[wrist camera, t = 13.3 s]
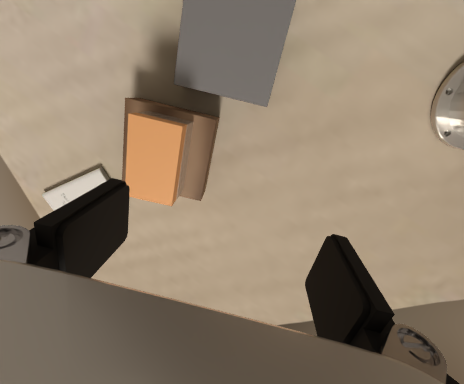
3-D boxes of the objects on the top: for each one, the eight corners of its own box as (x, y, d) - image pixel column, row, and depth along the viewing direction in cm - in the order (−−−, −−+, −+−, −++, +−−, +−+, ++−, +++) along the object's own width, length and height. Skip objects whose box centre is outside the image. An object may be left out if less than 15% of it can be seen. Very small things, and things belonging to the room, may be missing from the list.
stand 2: (292, 3, 28) (299, -11, 24) (264, 106, 32) (267, 107, 29) (195, -22, 27) (188, -41, 24) (182, 85, 32) (173, 84, 28)
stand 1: (219, 117, 33) (216, 120, 30) (205, 190, 38) (200, 200, 34) (138, 97, 33) (125, 97, 29) (134, 174, 38) (122, 182, 34)
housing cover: (176, 199, 31) (171, 206, 29) (132, 189, 30) (124, 195, 28) (186, 124, 27) (182, 126, 25) (136, 112, 26) (128, 113, 25)
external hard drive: (130, 206, 41) (76, 228, 43) (104, 165, 38) (47, 191, 40) (126, 210, 39) (70, 232, 42) (98, 168, 37) (40, 194, 39)
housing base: (183, 189, 34) (176, 199, 31) (143, 180, 34) (132, 189, 30) (193, 121, 30) (187, 124, 27) (148, 110, 30) (136, 112, 26)
